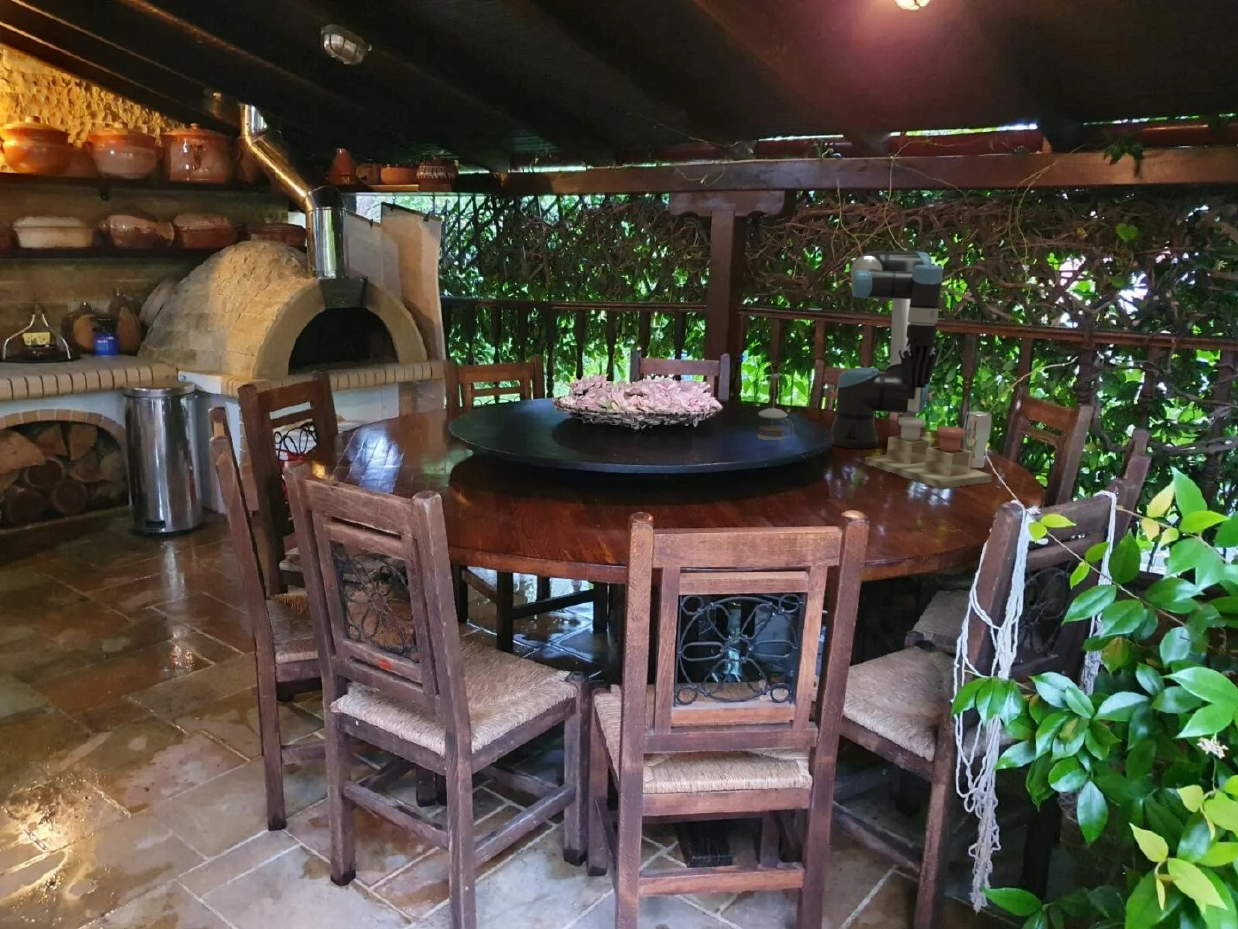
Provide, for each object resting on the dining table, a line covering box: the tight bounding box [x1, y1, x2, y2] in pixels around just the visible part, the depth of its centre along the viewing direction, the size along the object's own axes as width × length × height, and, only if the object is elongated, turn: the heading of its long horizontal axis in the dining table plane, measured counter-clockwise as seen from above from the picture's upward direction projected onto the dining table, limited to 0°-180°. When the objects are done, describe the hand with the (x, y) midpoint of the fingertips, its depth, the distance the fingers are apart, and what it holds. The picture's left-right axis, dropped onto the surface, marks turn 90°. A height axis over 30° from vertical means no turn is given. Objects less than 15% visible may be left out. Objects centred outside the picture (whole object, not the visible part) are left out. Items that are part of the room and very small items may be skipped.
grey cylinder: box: [897, 416, 926, 442], centre depth 243 cm, size 7×7×7 cm
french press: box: [757, 373, 794, 441], centre depth 244 cm, size 10×12×25 cm
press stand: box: [864, 435, 993, 490], centre depth 238 cm, size 28×18×8 cm, turn 27°
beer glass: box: [963, 410, 992, 469], centre depth 247 cm, size 7×7×15 cm
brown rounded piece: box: [936, 426, 966, 453], centre depth 231 cm, size 7×7×7 cm
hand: (912, 410), depth 241 cm, fingers closed
